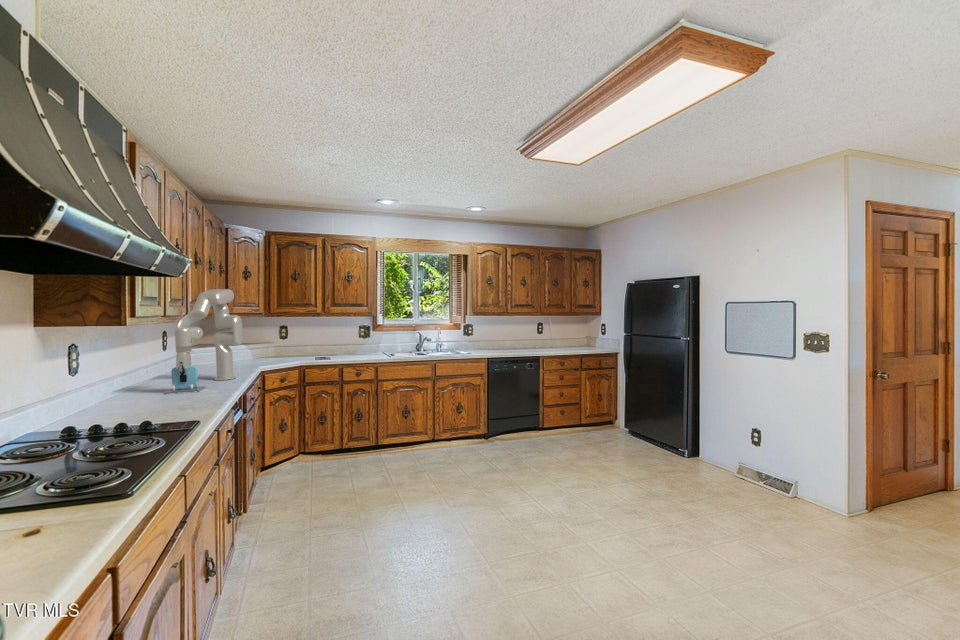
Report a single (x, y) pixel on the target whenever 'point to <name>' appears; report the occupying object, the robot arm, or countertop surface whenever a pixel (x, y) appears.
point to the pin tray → (185, 389)
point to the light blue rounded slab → (191, 377)
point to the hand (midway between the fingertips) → (185, 380)
